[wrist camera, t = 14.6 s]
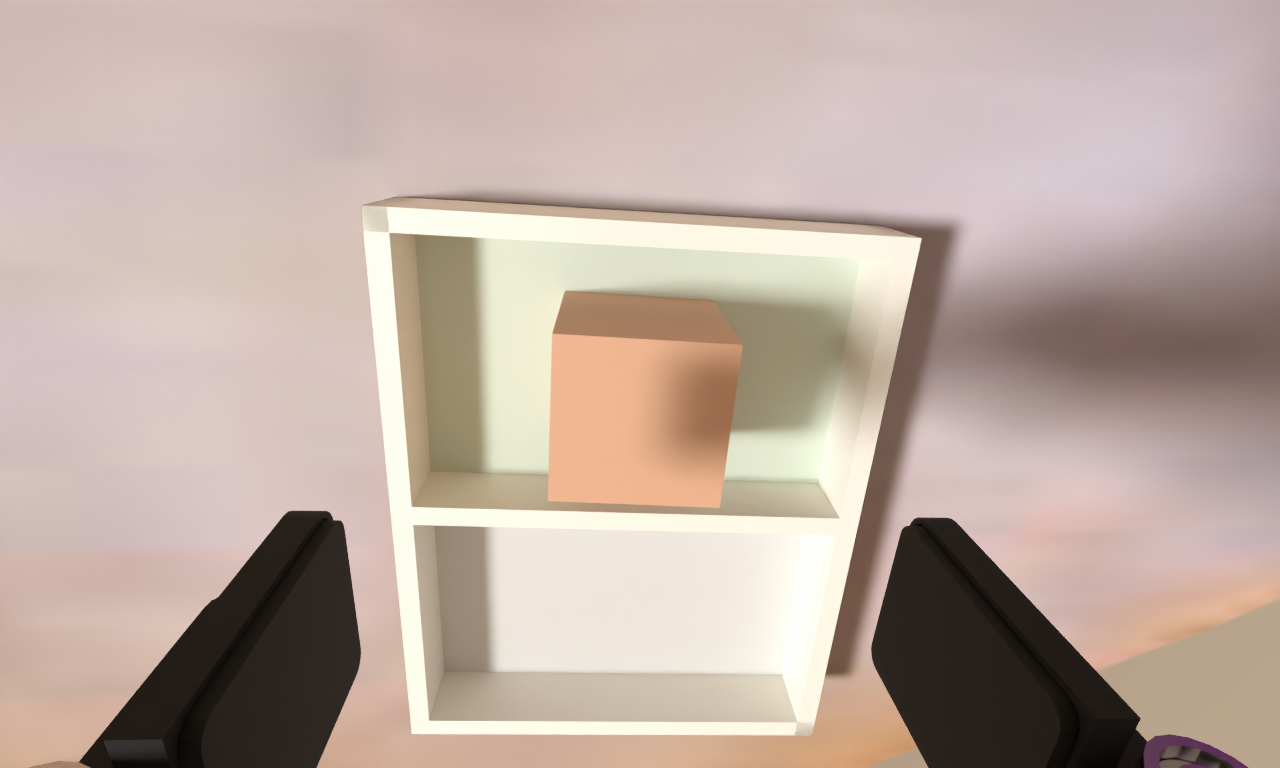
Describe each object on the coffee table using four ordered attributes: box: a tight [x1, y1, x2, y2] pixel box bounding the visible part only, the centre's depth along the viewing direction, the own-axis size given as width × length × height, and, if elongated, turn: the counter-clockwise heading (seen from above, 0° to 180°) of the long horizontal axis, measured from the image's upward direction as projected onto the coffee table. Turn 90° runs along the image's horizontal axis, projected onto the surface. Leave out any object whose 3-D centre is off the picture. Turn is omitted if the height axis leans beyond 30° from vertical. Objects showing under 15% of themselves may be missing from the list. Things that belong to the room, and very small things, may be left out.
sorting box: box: [361, 197, 922, 735], centre depth 23 cm, size 20×16×3 cm
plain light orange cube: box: [548, 291, 743, 508], centre depth 19 cm, size 5×5×5 cm
